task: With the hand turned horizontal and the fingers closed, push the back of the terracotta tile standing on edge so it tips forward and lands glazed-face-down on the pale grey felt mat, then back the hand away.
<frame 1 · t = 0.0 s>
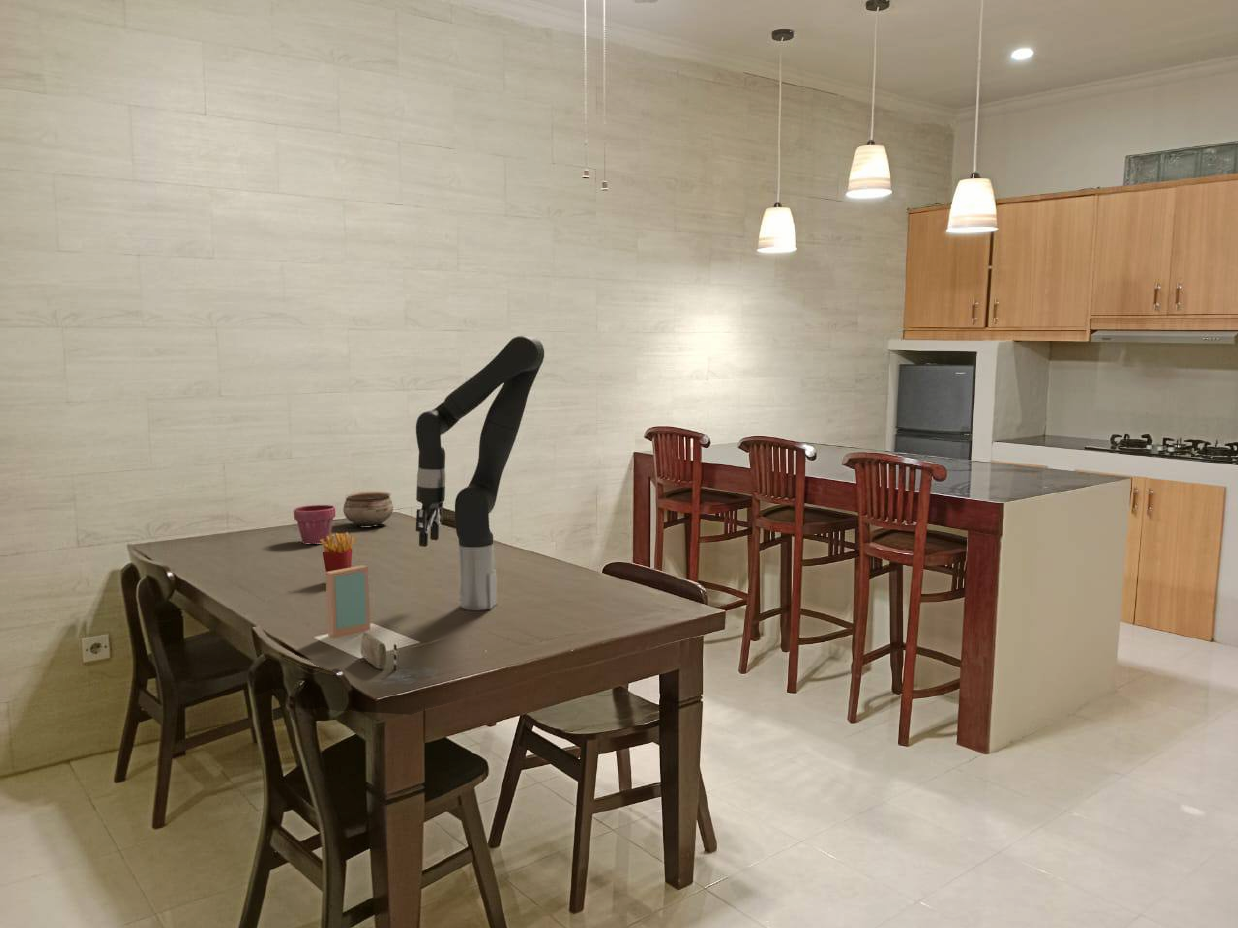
hand: (428, 542, 255), 17 cm above the table, tool pointing down, fingers open, 8 cm apart
plant pot: (316, 543, 337), on the table
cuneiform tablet: (377, 664, 209), on the table, touching mat
cooking pot: (369, 526, 368), on the table
mat: (366, 640, 226), on the table
tile: (349, 632, 231), resting on mat
french fries: (338, 581, 282), on the table
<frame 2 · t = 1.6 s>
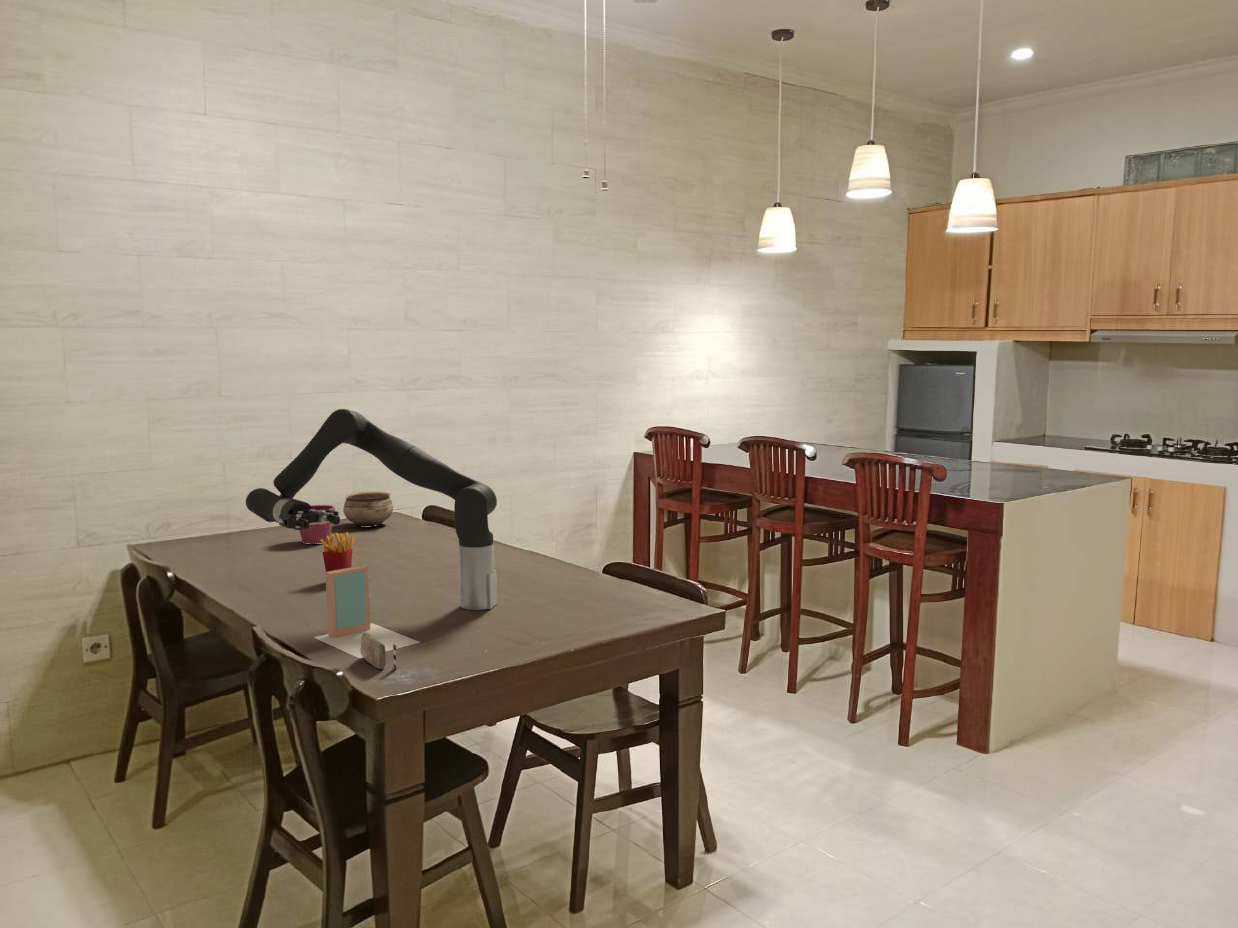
hand: (323, 522, 235), 26 cm above the table, tool horizontal, fingers open, 7 cm apart
nothing on the table moved.
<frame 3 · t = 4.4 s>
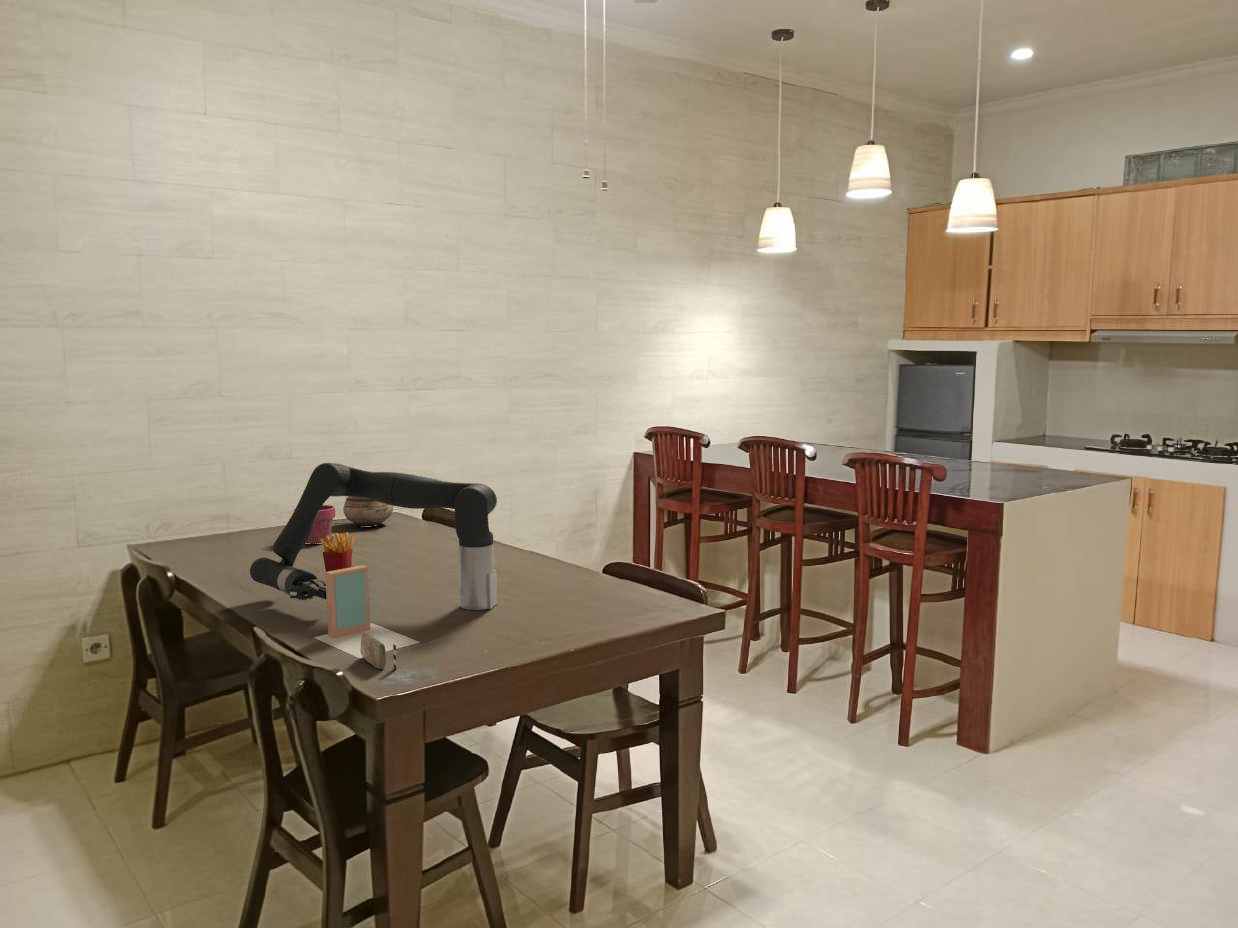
hand: (329, 595, 237), 8 cm above the table, tool horizontal, fingers closed
nothing on the table moved.
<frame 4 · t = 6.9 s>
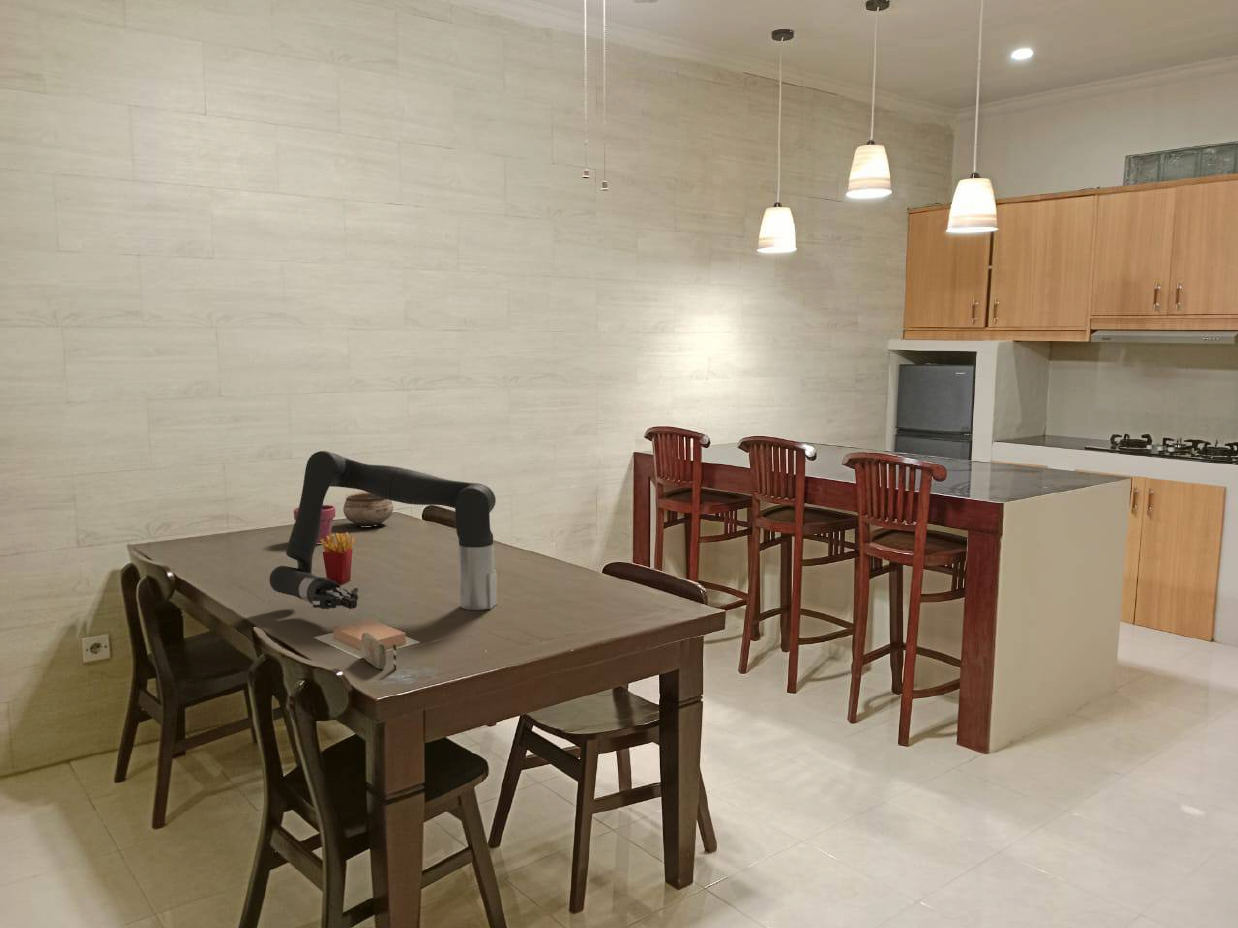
hand: (353, 604, 228), 8 cm above the table, tool horizontal, fingers closed
tile: (352, 628, 230), point 2 cm above the table, tilted 90°, touching mat
everything else where it was.
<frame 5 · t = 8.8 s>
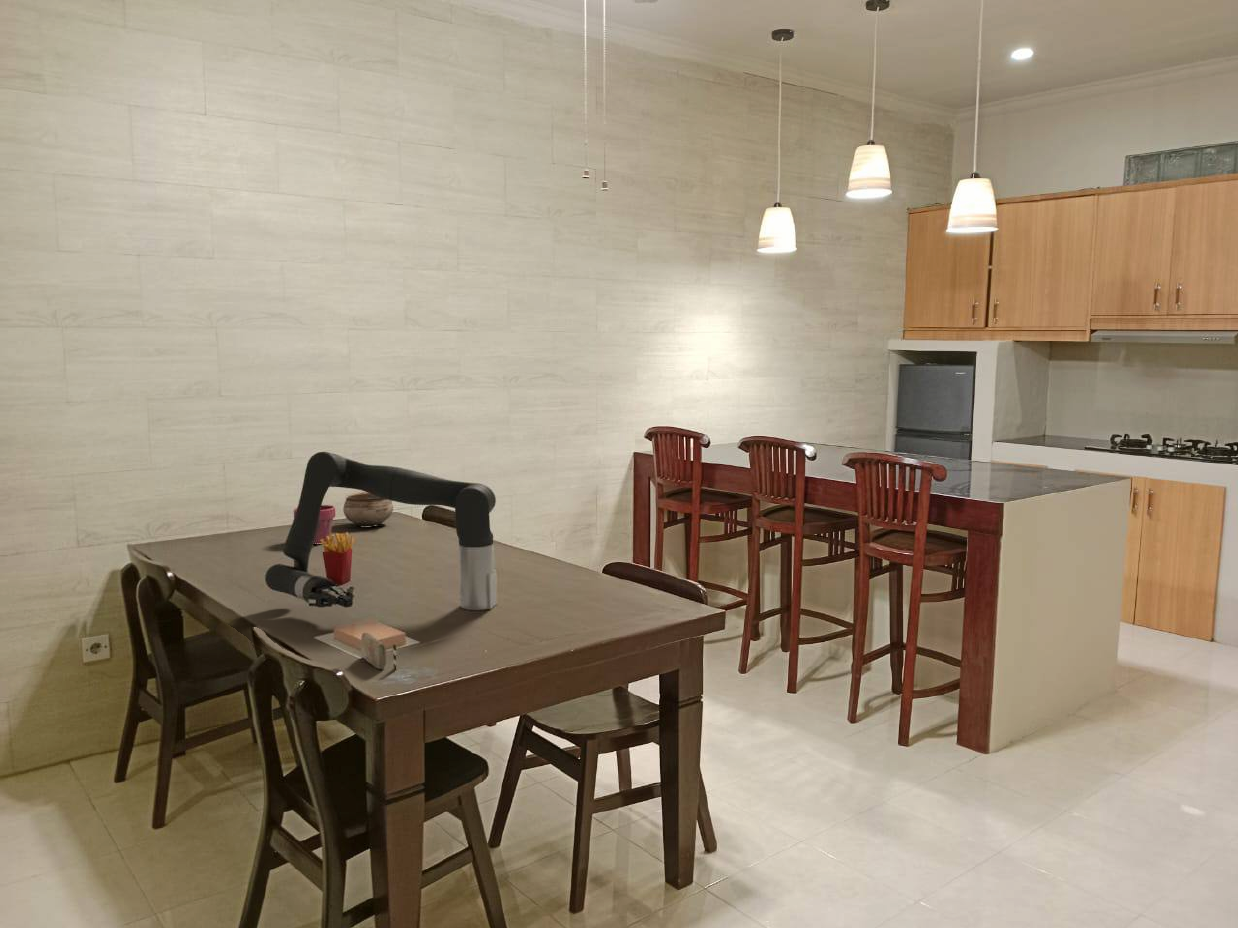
hand: (349, 603, 230), 8 cm above the table, tool horizontal, fingers closed
nothing on the table moved.
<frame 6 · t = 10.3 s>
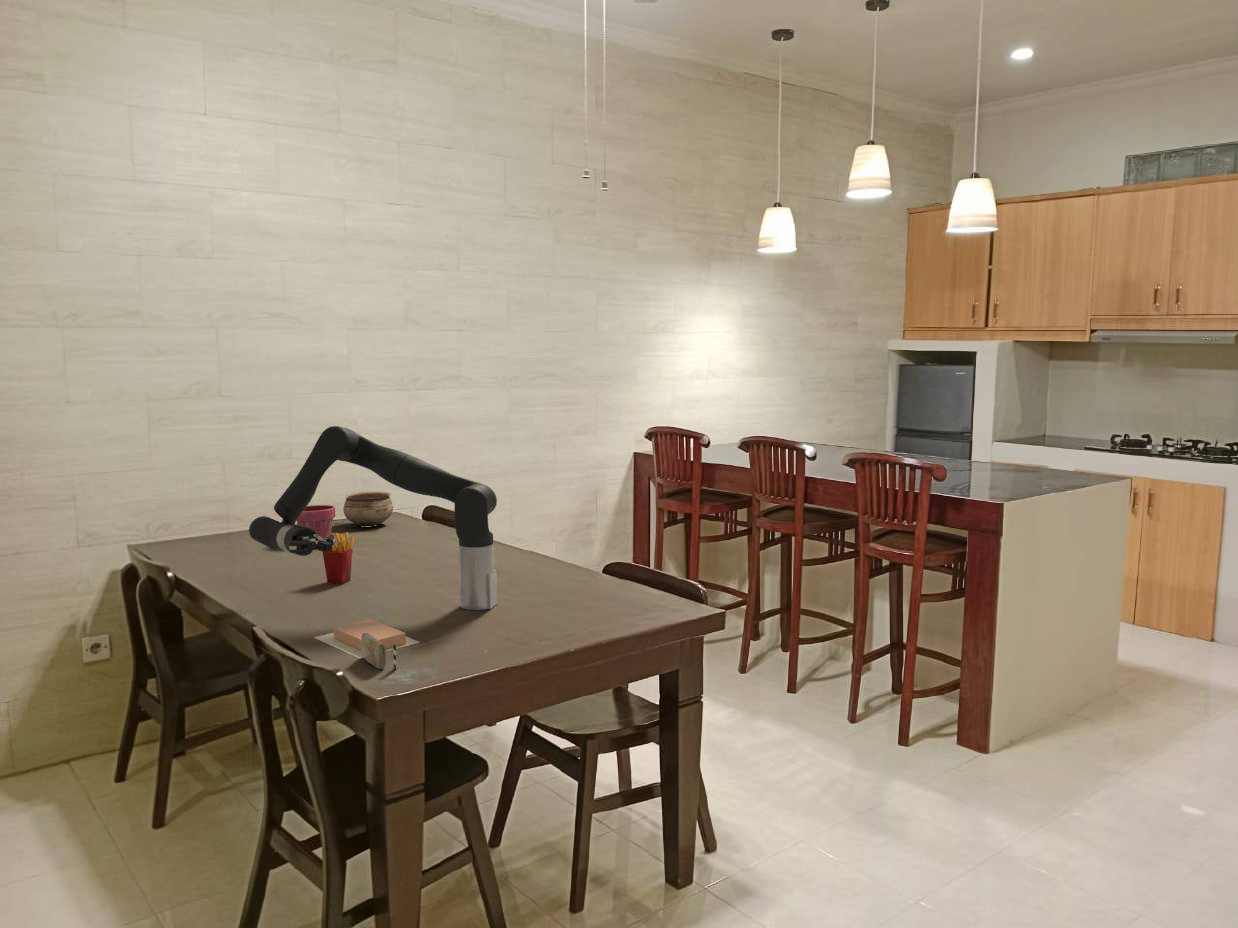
hand: (328, 547, 235), 20 cm above the table, tool horizontal, fingers closed
nothing on the table moved.
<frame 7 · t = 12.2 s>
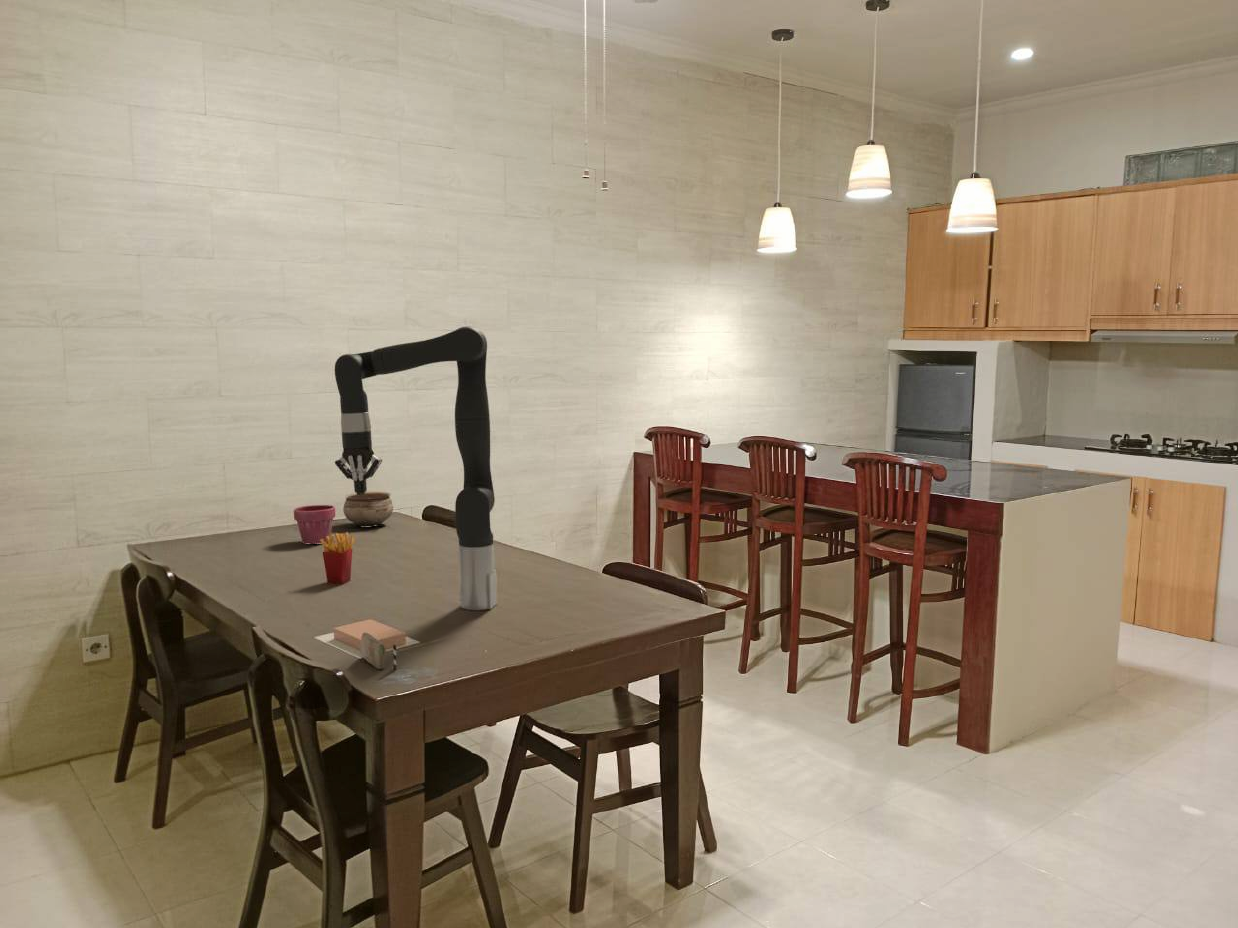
hand: (361, 494, 251), 31 cm above the table, tool pointing down, fingers closed
nothing on the table moved.
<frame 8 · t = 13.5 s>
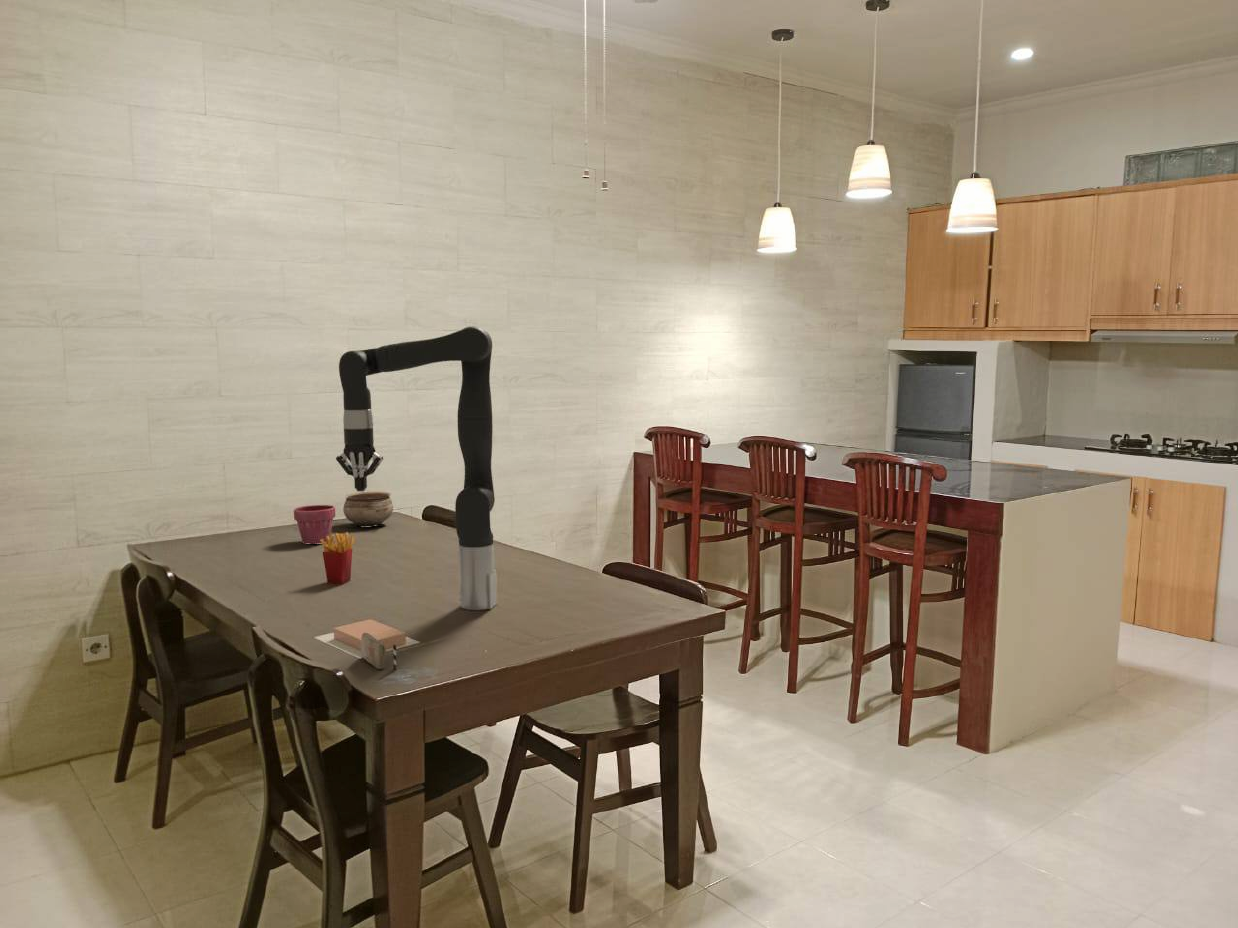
hand: (361, 490, 251), 32 cm above the table, tool pointing down, fingers closed
nothing on the table moved.
at the end: tile tilted 90°; tile inside the target area (3.6 cm from its centre), point 1.7 cm above the table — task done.
